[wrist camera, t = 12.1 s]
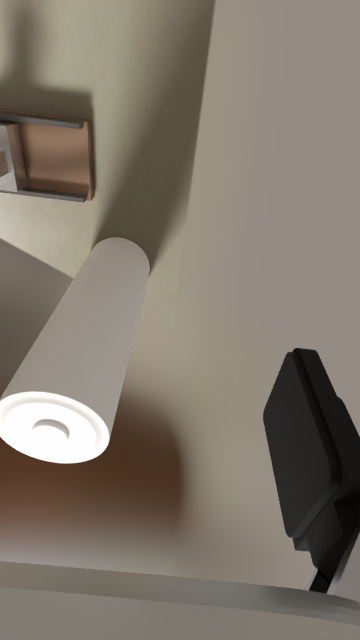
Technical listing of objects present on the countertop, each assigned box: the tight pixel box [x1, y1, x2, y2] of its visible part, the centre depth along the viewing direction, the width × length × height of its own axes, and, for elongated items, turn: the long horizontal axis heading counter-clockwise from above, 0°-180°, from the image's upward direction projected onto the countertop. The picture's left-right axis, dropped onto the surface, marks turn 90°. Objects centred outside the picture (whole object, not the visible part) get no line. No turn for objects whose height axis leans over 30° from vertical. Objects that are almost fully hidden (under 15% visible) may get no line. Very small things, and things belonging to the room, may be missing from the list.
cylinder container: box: [0, 237, 150, 463], centre depth 39 cm, size 9×9×30 cm
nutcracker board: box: [0, 109, 94, 202], centre depth 39 cm, size 9×18×6 cm, turn 84°
